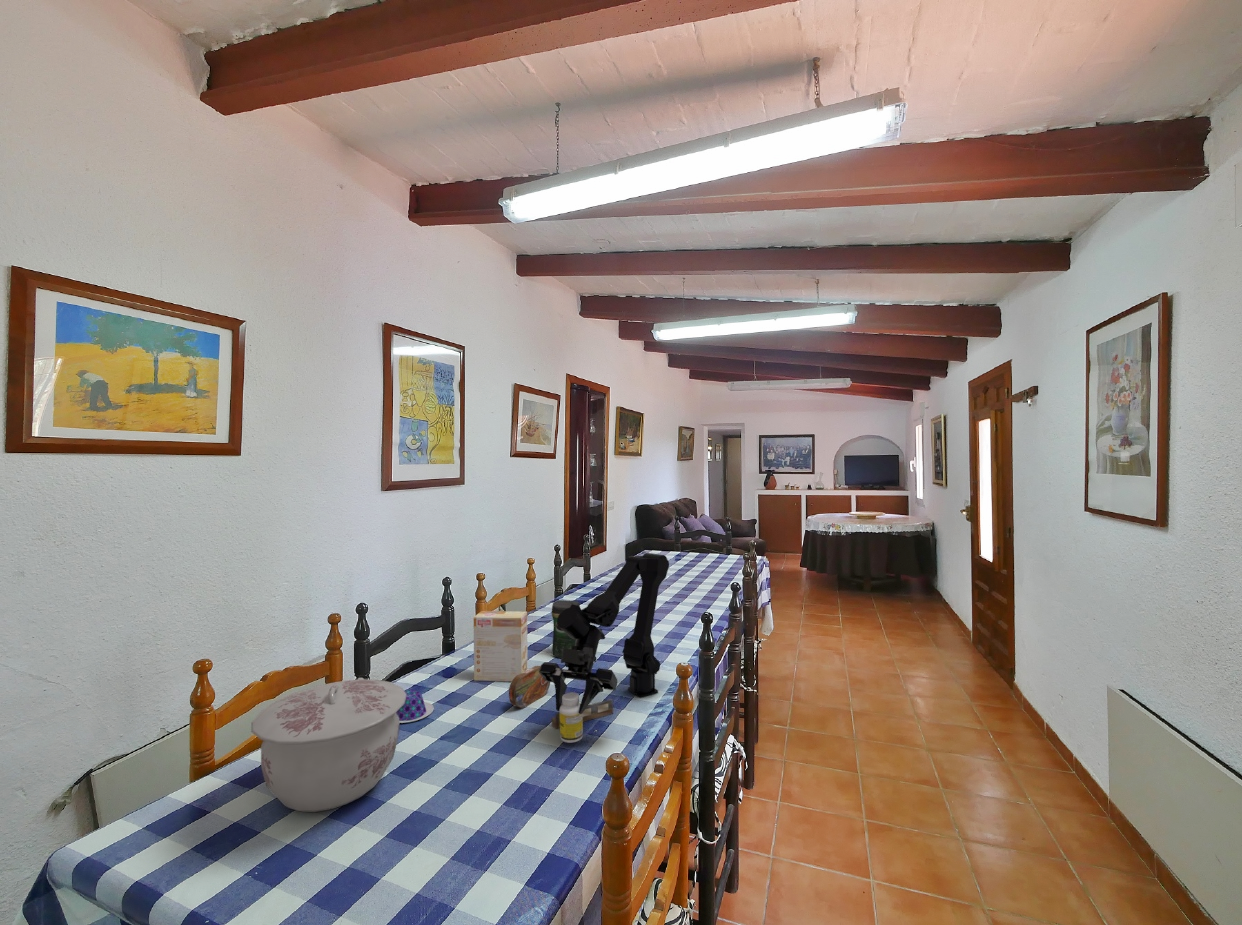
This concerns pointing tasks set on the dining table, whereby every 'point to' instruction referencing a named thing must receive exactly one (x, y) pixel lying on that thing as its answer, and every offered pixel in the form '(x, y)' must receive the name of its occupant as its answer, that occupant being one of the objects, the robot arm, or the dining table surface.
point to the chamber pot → (329, 742)
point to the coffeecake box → (500, 645)
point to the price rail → (590, 712)
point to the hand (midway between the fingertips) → (568, 711)
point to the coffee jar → (559, 635)
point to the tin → (527, 687)
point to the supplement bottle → (570, 718)
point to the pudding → (414, 707)
